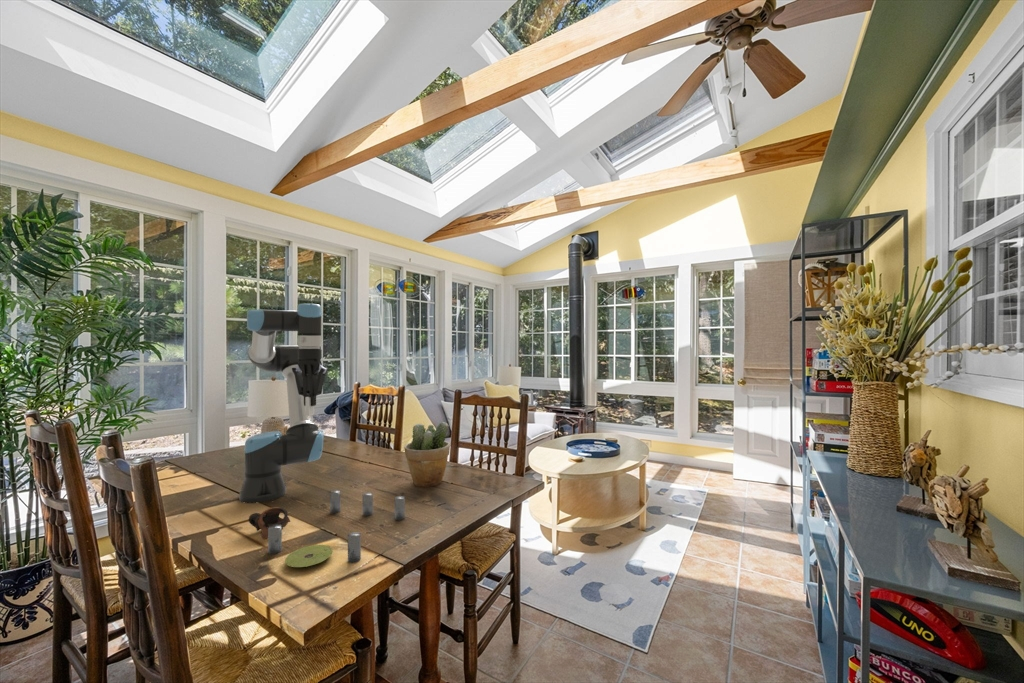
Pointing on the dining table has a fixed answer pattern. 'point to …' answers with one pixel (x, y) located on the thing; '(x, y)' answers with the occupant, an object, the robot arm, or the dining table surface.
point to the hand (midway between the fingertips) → (310, 415)
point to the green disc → (308, 556)
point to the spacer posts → (335, 507)
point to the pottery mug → (268, 519)
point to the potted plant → (428, 454)
